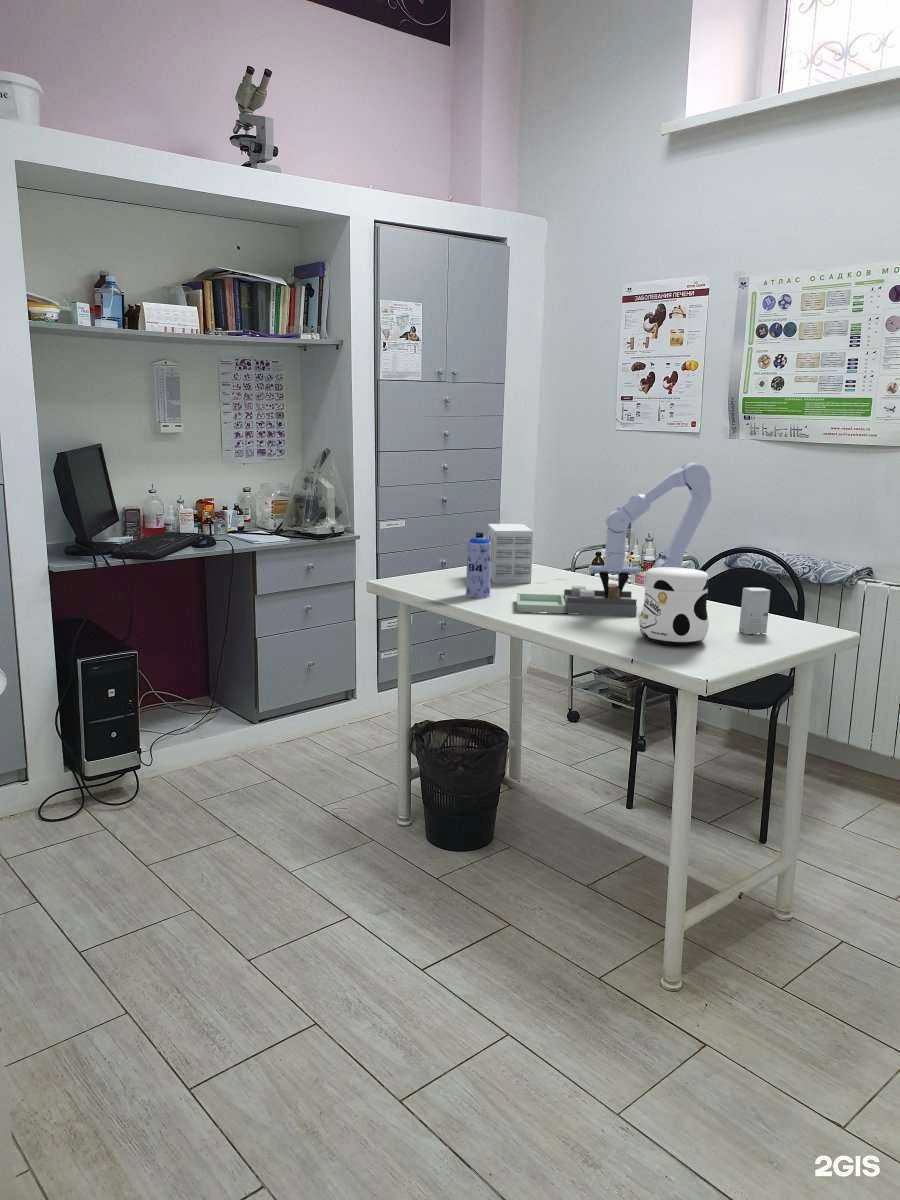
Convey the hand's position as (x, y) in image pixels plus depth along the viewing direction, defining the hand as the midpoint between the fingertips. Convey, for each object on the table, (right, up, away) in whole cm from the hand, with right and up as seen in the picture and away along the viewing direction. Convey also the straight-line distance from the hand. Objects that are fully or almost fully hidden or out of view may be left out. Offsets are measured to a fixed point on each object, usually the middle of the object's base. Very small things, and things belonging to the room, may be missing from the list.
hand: (612, 597), depth 268 cm
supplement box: (-28, +6, +46) cm, 54 cm away
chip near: (-8, +1, -2) cm, 8 cm away
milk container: (+10, -11, -33) cm, 37 cm away
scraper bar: (0, -1, 0) cm, 1 cm away
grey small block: (-10, +2, +3) cm, 10 cm away
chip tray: (-21, -3, +2) cm, 21 cm away
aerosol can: (-39, 0, +17) cm, 43 cm away
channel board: (-4, -3, +1) cm, 5 cm away
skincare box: (+34, -10, -24) cm, 42 cm away
